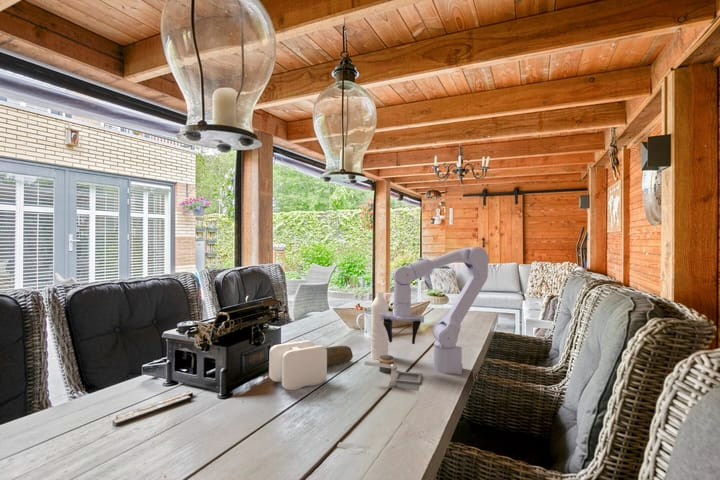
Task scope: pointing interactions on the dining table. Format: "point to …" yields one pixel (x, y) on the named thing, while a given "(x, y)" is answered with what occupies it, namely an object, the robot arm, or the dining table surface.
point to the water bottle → (379, 326)
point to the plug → (387, 360)
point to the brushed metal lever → (381, 365)
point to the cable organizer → (298, 364)
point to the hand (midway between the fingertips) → (402, 342)
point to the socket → (405, 380)
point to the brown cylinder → (338, 355)
